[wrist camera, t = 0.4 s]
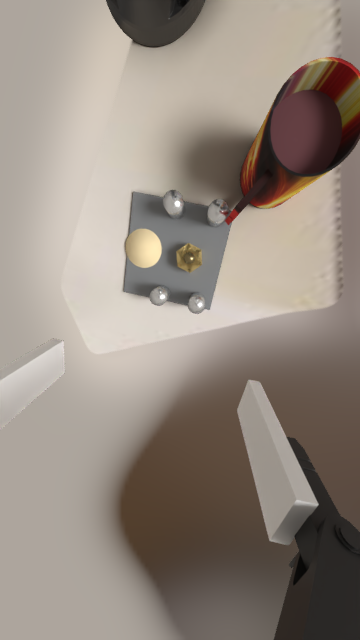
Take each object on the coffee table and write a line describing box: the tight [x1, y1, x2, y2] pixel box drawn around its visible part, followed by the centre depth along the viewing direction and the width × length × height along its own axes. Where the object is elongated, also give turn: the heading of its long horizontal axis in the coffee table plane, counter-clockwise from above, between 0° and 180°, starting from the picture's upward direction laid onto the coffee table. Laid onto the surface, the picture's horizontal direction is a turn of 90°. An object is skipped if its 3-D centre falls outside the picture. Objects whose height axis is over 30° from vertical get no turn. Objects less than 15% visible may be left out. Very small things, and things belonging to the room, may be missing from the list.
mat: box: [124, 192, 232, 310], centre depth 36 cm, size 18×18×1 cm
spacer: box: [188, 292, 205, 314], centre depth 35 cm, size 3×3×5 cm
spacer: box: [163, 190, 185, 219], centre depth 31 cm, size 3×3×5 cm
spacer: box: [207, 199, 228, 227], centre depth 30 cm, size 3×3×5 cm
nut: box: [176, 243, 202, 273], centre depth 34 cm, size 5×4×2 cm
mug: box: [225, 57, 360, 225], centre depth 25 cm, size 10×14×12 cm
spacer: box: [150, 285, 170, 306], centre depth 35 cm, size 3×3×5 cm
